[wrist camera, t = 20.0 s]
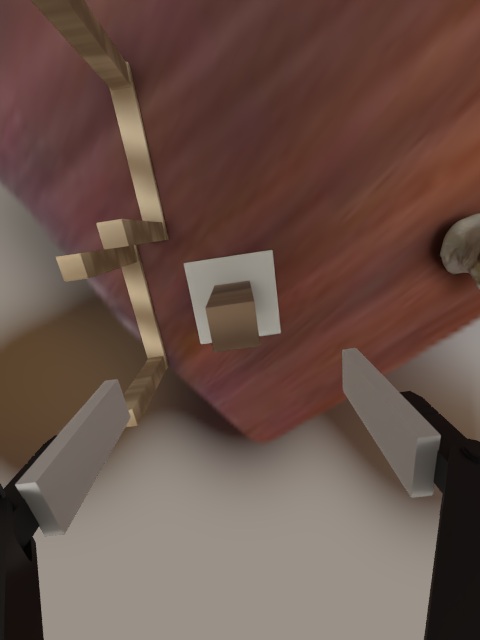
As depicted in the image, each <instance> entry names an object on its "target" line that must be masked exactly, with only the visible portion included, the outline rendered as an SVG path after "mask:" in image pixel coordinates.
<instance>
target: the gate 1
mask: <svg viewBox="0 0 480 640" xmlns="http://www.w3.org/2000/svg"><path fill="white" fill-rule="evenodd" d="M31 1H32V2H33V4H34V5H35V6H36V7H37V8H38V9H39V10H40V11H41V12H42V13H43V15H44V16H45V17H46V18H47V19H48V20H49V21H50V22H51V23H52V24H53V26H54V27H55V28H56V29H57V30H58V31H59V32H60V33H61V34H62V35H63V37H64V38H65V39H66V40H67V41H68V42H69V43H70V44H71V45H72V47H73V48H74V49H75V50H76V51H77V52H78V53H79V54H80V55H81V56H82V58H83V59H84V60H85V61H86V62H87V63H88V64H89V65H90V66H91V67H92V69H93V70H94V71H95V72H96V73H97V74H98V75H99V76H100V77H101V79H102V80H103V81H104V82H105V83H106V84H107V85H108V86H109V88H110V92H111V96H112V100H113V104H114V108H115V112H116V116H117V120H118V124H119V128H120V132H121V136H122V140H123V144H124V148H125V152H126V156H127V160H128V164H129V168H130V172H131V176H132V180H133V184H134V188H135V192H136V196H137V200H138V204H139V208H140V212H141V216H142V220H143V221H139V220H127V219H118V220H112V221H106V222H99V223H96V224H97V227H98V231H99V234H100V237H101V241H102V244H103V247H104V250H105V249H112V248H118V247H125V246H131V245H138V244H144V243H150V242H157V241H163V240H169V238H168V233H167V229H166V224H165V220H164V215H163V211H162V206H161V202H160V198H159V193H158V189H157V184H156V180H155V175H154V171H153V166H152V162H151V157H150V153H149V148H148V144H147V139H146V135H145V130H144V126H143V121H142V117H141V112H140V108H139V103H138V99H137V95H136V90H135V86H134V81H133V77H132V72H131V68H130V65H129V63H128V62H125V60H124V59H123V57H122V56H121V54H120V53H119V51H118V50H117V48H116V47H115V45H114V44H113V42H112V41H111V39H110V38H109V36H108V35H107V34H106V32H105V31H104V29H103V28H102V26H101V25H100V23H99V22H98V20H97V19H96V17H95V16H94V14H93V13H92V11H91V10H90V8H89V7H88V5H87V4H86V2H85V1H84V0H31Z"/></svg>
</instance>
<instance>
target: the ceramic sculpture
mask: <svg viewBox="0 0 480 640" xmlns="http://www.w3.org/2000/svg"><path fill="white" fill-rule="evenodd" d="M440 256H441V258H442V261H443V265H444V266H445V268H446V269H447V271H448V272H450V273H451V274H458V273H464V272H465V273H469V274H470V275H471V276H472V278H473V279H474V281H475V282H476V285H477V288H478V289H479V290H480V213H478V214H474V215H471V216H469V217H467V218H464V219H461V220H459V221H458V222H456V223H455V224H454V225H453V226H452V227H451V228H450V229H449V231H448V232H447V234H446V235H445V237H444V240H443V244H442V248H441V252H440Z"/></svg>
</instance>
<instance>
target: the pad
mask: <svg viewBox="0 0 480 640" xmlns="http://www.w3.org/2000/svg"><path fill="white" fill-rule="evenodd" d="M184 267H185V272H186V277H187V282H188V286H189V291H190V296H191V301H192V305H193V310H194V315H195V319H196V324H197V329H198V334H199V338H200V343H201V344H206V343H212V340H211V335H210V330H209V325H208V319H207V314H206V309H205V308H206V305H207V303H208V300H209V298H210V295H211V293H212V290H213V288H214V286H215V285H222V284H229V283H236V282H243V281H250V284H251V289H252V293H253V297H254V302H255V309H256V317H257V325H258V332H259V336H265V335H272V334H279V333H281V330H280V320H279V310H278V300H277V290H276V280H275V270H274V260H273V250H267V251H260V252H254V253H247V254H240V255H233V256H227V257H220V258H213V259H207V260H200V261H193V262H187V263H184Z"/></svg>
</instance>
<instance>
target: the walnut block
mask: <svg viewBox="0 0 480 640" xmlns="http://www.w3.org/2000/svg"><path fill="white" fill-rule="evenodd" d="M205 309H206V314H207V319H208V325H209V330H210V335H211V340H212V345H213V350H214V352H221V351H228V350H236V349H243V348H250V347H258V346H260V340H259V332H258V325H257V317H256V309H255V302H254V297H253V293H252V289H251V284H250V281H243V282H236V283H229V284H222V285H215V286H214V288H213V290H212V293H211V295H210V298H209V300H208V303H207V305H206V308H205Z"/></svg>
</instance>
